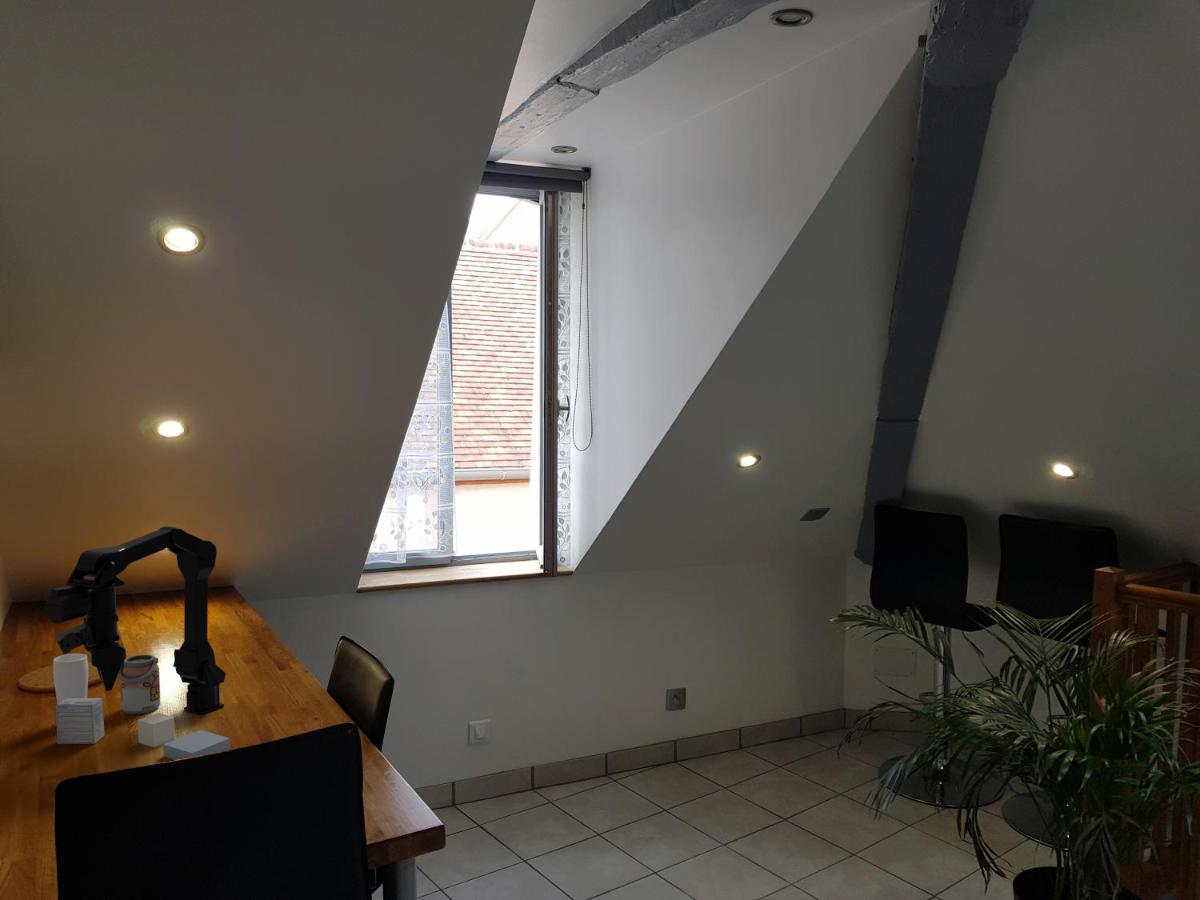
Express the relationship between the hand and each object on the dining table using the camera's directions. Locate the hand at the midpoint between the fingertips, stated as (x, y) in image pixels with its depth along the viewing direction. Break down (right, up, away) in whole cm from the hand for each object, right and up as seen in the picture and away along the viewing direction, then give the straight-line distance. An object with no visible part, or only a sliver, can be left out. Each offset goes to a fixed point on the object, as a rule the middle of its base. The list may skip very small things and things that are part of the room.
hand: (105, 684), depth 204 cm
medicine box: (-8, -13, +5) cm, 16 cm away
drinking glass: (-14, -12, +14) cm, 24 cm away
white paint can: (-4, -12, +23) cm, 26 cm away
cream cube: (+9, -13, +4) cm, 16 cm away
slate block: (+20, -14, -2) cm, 24 cm away
